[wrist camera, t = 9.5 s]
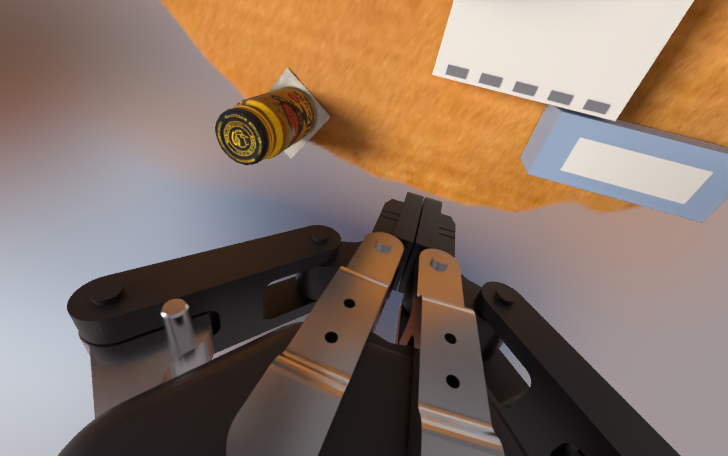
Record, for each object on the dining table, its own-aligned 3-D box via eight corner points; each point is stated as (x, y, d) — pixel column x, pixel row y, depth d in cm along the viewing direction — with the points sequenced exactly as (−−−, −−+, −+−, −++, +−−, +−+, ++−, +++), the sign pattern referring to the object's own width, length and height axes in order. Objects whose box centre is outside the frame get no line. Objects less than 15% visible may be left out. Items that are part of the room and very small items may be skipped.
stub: (548, 101, 31) (562, 111, 27) (721, 145, 29) (763, 163, 25) (520, 157, 34) (528, 174, 30) (672, 200, 32) (702, 223, 28)
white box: (483, -91, 25) (487, -116, 21) (690, -52, 23) (741, -71, 19) (435, 69, 32) (432, 74, 28) (594, 109, 30) (615, 121, 26)
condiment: (331, 116, 37) (285, 145, 28) (291, 158, 42) (239, 196, 32) (288, 67, 36) (222, 78, 26) (251, 116, 40) (183, 142, 30)
